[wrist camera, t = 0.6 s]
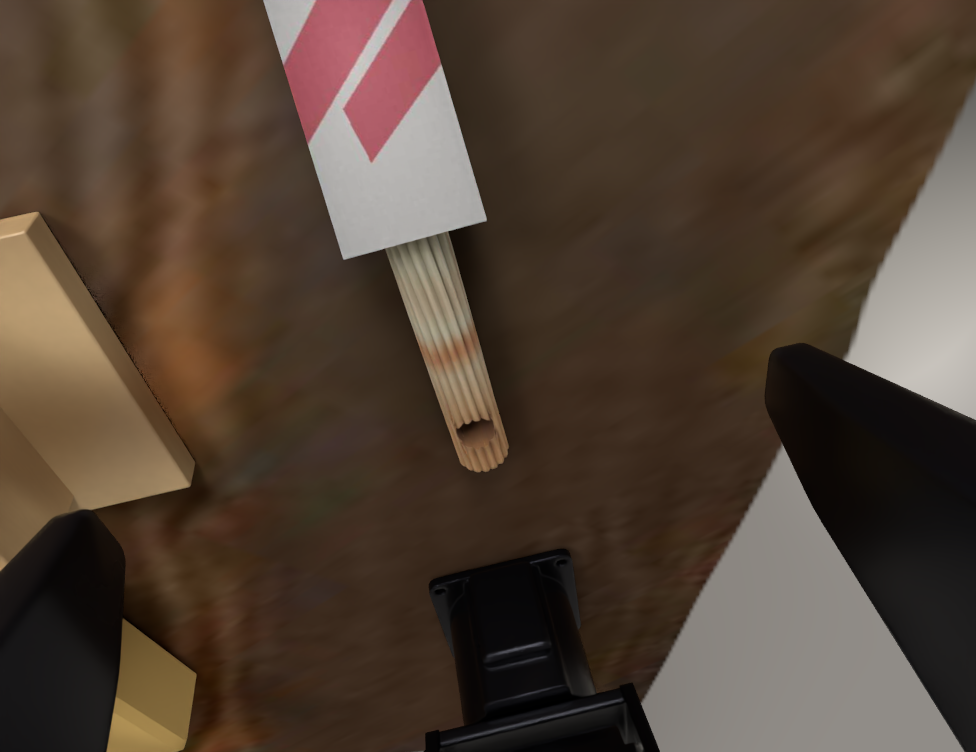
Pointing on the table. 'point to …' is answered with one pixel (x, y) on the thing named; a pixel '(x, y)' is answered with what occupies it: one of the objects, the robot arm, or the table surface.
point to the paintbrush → (396, 180)
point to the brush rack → (69, 397)
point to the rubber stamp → (150, 697)
